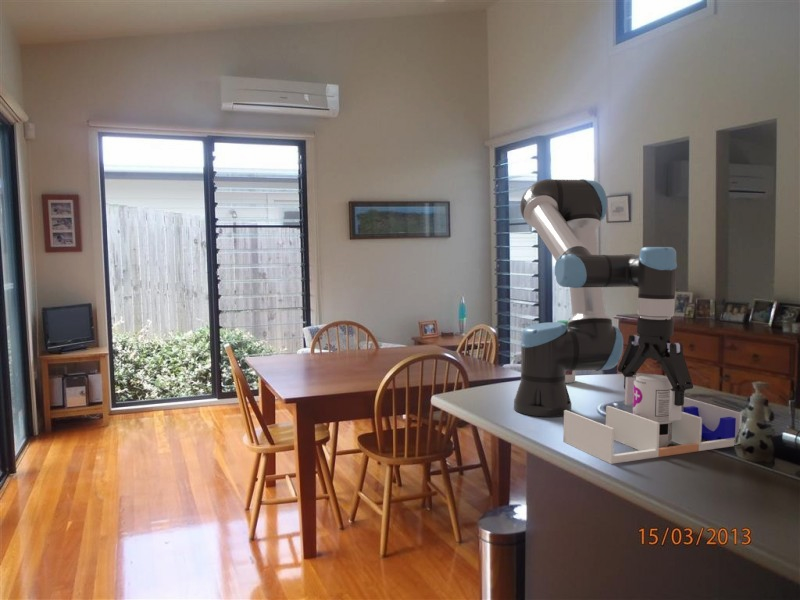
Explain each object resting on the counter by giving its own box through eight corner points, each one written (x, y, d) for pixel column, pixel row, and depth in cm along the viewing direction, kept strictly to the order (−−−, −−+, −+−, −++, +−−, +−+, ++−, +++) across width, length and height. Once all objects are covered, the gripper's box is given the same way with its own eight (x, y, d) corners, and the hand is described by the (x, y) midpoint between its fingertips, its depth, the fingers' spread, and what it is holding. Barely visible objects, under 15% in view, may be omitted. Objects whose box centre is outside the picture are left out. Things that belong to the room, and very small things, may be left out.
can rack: (610, 463, 129) (611, 428, 128) (563, 441, 144) (564, 410, 143) (740, 444, 141) (742, 413, 141) (684, 426, 156) (685, 397, 156)
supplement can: (633, 447, 140) (635, 379, 139) (631, 436, 148) (633, 372, 147) (673, 450, 137) (675, 381, 136) (668, 439, 145) (671, 374, 144)
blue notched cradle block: (677, 432, 152) (678, 407, 151) (692, 430, 153) (693, 406, 153) (719, 447, 141) (720, 420, 140) (734, 444, 142) (735, 418, 142)
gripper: (714, 323, 130) (709, 425, 132) (629, 310, 153) (626, 397, 155) (686, 324, 127) (681, 428, 129) (604, 311, 151) (601, 400, 153)
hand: (651, 411), depth 142 cm, fingers open, 13 cm apart
